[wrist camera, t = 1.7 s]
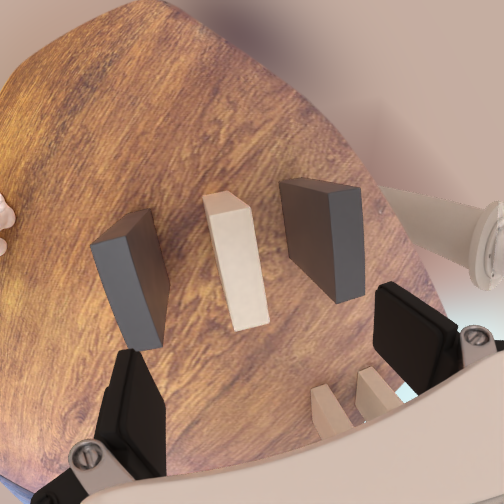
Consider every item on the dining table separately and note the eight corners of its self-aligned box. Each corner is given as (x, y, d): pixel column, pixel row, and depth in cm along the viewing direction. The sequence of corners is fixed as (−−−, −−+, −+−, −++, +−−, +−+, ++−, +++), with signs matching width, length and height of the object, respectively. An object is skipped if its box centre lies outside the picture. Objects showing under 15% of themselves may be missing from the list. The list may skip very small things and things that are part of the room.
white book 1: (227, 190, 27) (250, 206, 17) (242, 268, 30) (270, 323, 20) (201, 195, 27) (208, 215, 17) (218, 273, 30) (234, 332, 19)
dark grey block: (301, 177, 28) (360, 187, 18) (311, 252, 31) (365, 295, 21) (278, 181, 28) (327, 193, 18) (289, 257, 31) (336, 304, 20)
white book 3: (372, 365, 39) (412, 412, 28) (367, 399, 41) (400, 444, 31) (357, 371, 38) (396, 421, 28) (354, 405, 41) (386, 451, 31)
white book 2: (326, 383, 38) (361, 437, 27) (326, 415, 40) (355, 466, 30) (310, 388, 37) (341, 445, 27) (312, 421, 40) (338, 473, 30)
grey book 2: (150, 207, 26) (125, 235, 16) (170, 284, 29) (163, 347, 19) (125, 214, 26) (89, 245, 16) (147, 289, 29) (130, 353, 18)
